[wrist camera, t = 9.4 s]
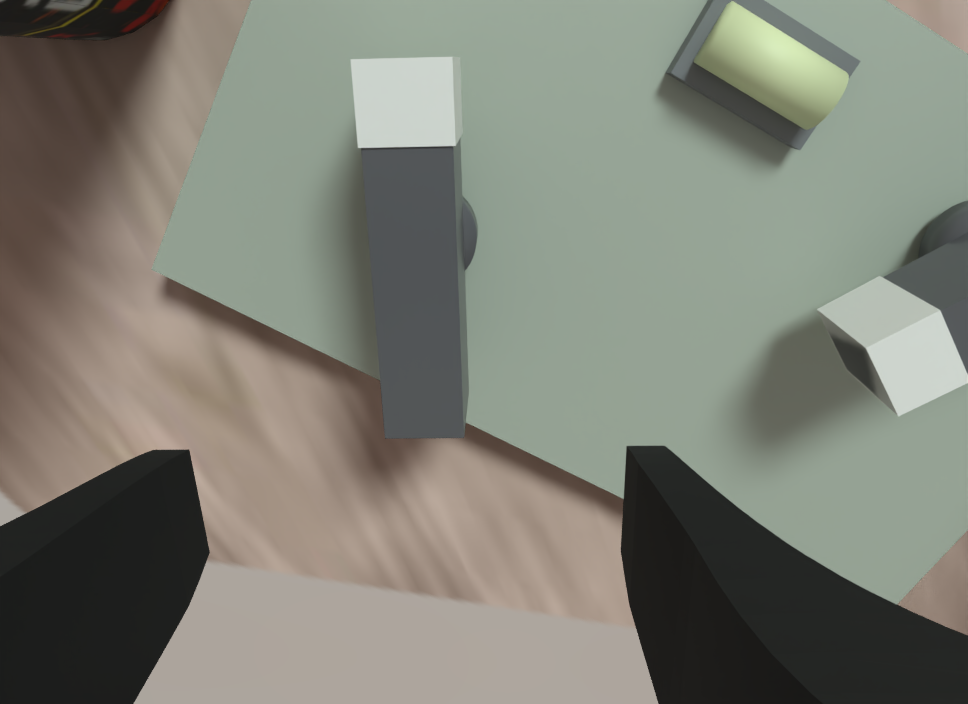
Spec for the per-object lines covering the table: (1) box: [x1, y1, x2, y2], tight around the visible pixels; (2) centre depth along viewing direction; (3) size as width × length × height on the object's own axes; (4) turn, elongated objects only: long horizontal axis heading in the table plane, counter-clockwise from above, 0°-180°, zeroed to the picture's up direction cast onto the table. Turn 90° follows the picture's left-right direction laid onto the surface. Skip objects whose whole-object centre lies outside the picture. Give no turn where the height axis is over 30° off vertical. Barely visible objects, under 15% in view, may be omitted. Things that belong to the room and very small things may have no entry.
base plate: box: [152, 0, 968, 604], centre depth 18 cm, size 24×14×3 cm, turn 62°
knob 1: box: [350, 57, 478, 439], centre depth 17 cm, size 8×2×4 cm, turn 1°
